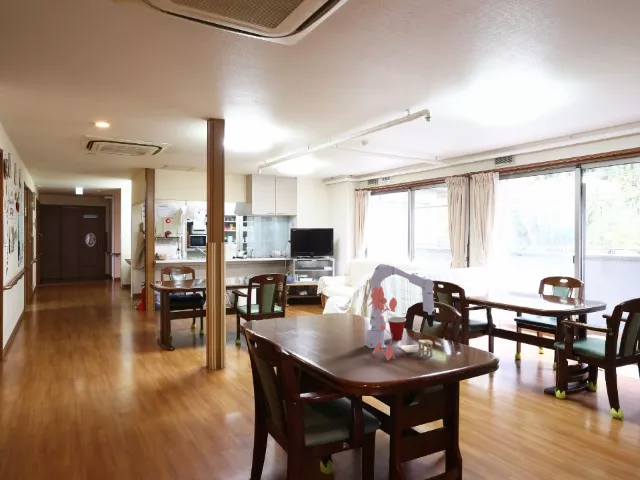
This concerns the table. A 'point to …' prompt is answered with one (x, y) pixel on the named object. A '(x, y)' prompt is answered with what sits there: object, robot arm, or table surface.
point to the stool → (423, 346)
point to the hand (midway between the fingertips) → (430, 325)
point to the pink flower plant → (379, 303)
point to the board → (412, 348)
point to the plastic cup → (396, 327)
